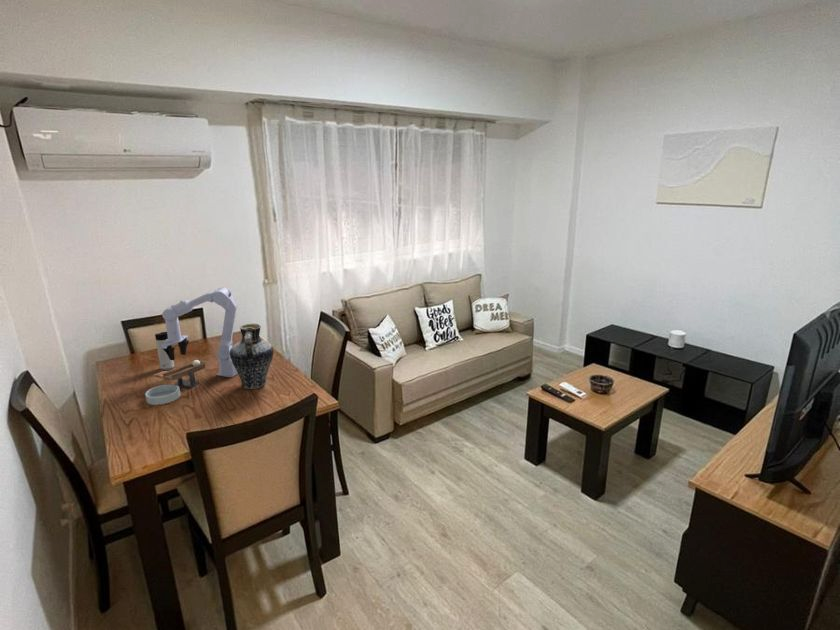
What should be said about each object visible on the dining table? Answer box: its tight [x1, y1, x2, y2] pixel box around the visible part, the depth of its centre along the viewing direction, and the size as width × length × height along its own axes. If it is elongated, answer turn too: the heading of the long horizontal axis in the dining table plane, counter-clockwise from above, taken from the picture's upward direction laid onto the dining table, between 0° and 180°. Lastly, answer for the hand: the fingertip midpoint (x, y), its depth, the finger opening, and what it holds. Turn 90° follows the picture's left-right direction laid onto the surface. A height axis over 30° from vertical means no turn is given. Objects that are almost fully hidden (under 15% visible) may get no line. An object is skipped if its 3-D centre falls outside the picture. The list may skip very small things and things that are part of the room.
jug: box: [230, 323, 274, 390], centre depth 212 cm, size 21×19×30 cm
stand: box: [173, 371, 200, 389], centre depth 216 cm, size 10×5×7 cm, turn 74°
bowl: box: [144, 383, 182, 406], centre depth 203 cm, size 13×13×4 cm
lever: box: [153, 359, 206, 381], centre depth 216 cm, size 12×20×4 cm, turn 164°
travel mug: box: [154, 331, 175, 371], centre depth 232 cm, size 6×7×20 cm
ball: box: [192, 359, 201, 367], centre depth 221 cm, size 4×4×4 cm
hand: (177, 357), depth 223 cm, fingers open, 7 cm apart
